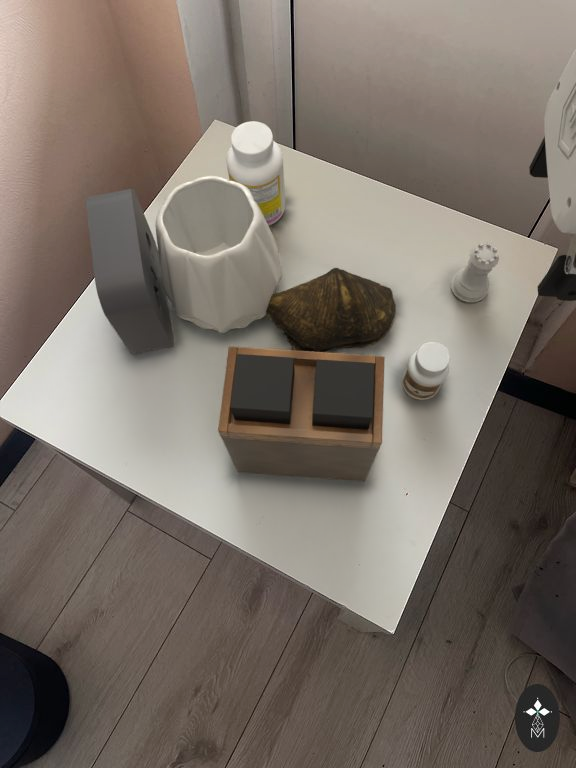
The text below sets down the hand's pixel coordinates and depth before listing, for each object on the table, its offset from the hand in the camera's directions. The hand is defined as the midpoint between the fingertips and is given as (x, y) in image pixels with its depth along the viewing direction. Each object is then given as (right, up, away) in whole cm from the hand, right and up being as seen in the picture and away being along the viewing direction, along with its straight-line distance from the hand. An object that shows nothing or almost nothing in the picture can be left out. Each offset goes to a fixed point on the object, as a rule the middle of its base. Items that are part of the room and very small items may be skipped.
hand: (555, 231), depth 42 cm
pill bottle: (-3, -10, +29) cm, 31 cm away
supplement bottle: (-22, +12, +38) cm, 46 cm away
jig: (-17, -17, +26) cm, 36 cm away
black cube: (-21, -12, +13) cm, 27 cm away
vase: (-26, +1, +34) cm, 42 cm away
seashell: (-13, -3, +32) cm, 35 cm away
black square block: (-14, -12, +13) cm, 22 cm away
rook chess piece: (+4, +1, +33) cm, 33 cm away
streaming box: (-39, +1, +26) cm, 47 cm away
